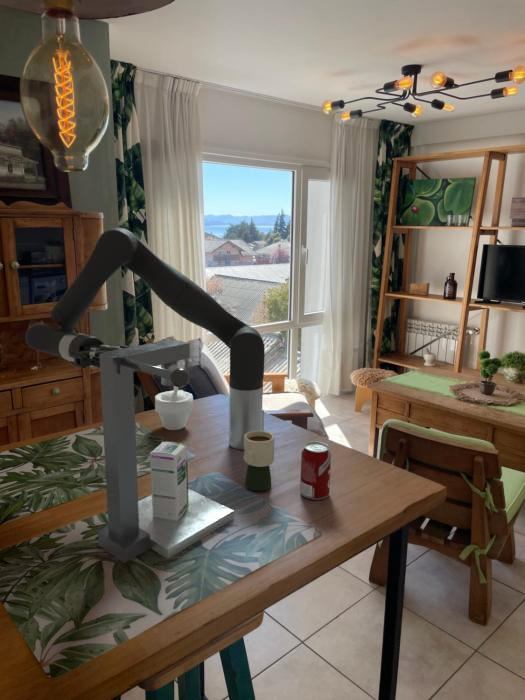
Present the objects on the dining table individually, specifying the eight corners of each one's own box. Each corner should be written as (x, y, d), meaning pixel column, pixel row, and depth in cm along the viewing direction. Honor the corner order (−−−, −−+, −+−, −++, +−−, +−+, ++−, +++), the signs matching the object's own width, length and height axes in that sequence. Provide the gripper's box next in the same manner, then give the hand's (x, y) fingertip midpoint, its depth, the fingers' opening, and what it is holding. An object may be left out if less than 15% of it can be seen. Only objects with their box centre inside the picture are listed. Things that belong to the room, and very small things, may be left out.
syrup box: (178, 521, 104) (176, 455, 101) (151, 517, 106) (149, 451, 102) (189, 507, 110) (188, 443, 106) (163, 503, 111) (161, 440, 108)
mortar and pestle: (201, 425, 161) (201, 346, 155) (176, 437, 151) (174, 354, 145) (170, 416, 167) (169, 341, 162) (144, 427, 158) (142, 347, 152)
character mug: (254, 474, 129) (254, 425, 126) (280, 480, 127) (282, 430, 124) (234, 494, 120) (234, 441, 117) (262, 501, 117) (263, 447, 114)
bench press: (176, 490, 120) (173, 328, 112) (267, 535, 104) (271, 348, 95) (84, 535, 102) (71, 345, 94) (175, 598, 86) (171, 374, 77)
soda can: (310, 504, 116) (312, 454, 113) (294, 491, 122) (296, 443, 119) (334, 498, 119) (337, 449, 116) (318, 485, 125) (320, 438, 122)
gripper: (53, 338, 121) (93, 349, 111) (106, 330, 132) (146, 339, 122) (55, 369, 123) (94, 383, 113) (107, 359, 133) (147, 370, 123)
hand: (121, 360), depth 117 cm, fingers open, 8 cm apart
